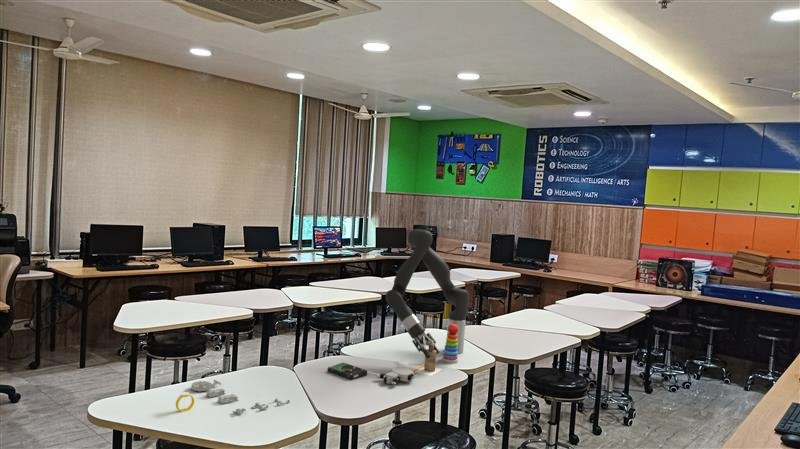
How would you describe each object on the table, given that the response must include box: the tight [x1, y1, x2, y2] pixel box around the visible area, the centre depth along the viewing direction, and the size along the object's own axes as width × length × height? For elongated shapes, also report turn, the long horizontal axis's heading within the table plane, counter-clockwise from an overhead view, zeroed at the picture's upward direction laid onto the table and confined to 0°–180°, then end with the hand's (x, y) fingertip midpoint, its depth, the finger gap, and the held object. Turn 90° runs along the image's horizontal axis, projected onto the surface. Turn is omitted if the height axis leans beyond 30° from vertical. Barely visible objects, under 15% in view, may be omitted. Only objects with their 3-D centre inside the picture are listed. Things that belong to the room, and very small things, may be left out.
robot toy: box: [376, 365, 419, 386], centre depth 229 cm, size 12×4×15 cm
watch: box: [175, 391, 195, 412], centre depth 184 cm, size 6×3×6 cm, turn 136°
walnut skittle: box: [423, 344, 437, 372], centre depth 245 cm, size 5×5×12 cm
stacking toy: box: [441, 324, 459, 364], centre depth 262 cm, size 8×8×19 cm
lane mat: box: [393, 360, 443, 377], centre depth 248 cm, size 15×25×1 cm, turn 60°
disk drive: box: [326, 362, 368, 381], centre depth 234 cm, size 10×3×15 cm
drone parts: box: [190, 379, 291, 415], centre depth 201 cm, size 23×35×3 cm, turn 48°
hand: (433, 355), depth 244 cm, fingers open, 8 cm apart
